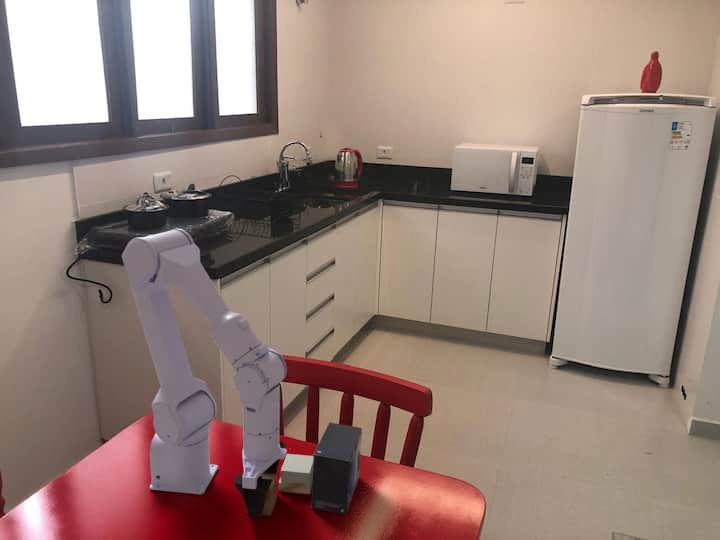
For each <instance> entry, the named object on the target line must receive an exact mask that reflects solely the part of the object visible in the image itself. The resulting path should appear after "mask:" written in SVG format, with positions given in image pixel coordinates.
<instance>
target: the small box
mask: <svg viewBox="0 0 720 540" xmlns="http://www.w3.org/2000/svg"><path fill="white" fill-rule="evenodd" d="M362 435H363V428H362V427H359V426H358V427H357V426H354V425H353V426H352V425H346V424H341V423H334V422H329V423H328V425H327V427H326V428H325V430H324V432H323V435H322V436H321V438H320V441H319V442H318V444H317V446H316V448H315V450H314V452H313V455H312V456H313V484H312V489H311V505H310V508H311V509H312V510H319V511H325V512H330V513H334V514H339V515H347V513H348V511H349V508H350V505H351V502H352V500H353V496H354V494H355V491H356V488H357V484H358V482H359V480H360V470H361V451H362Z"/></svg>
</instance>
